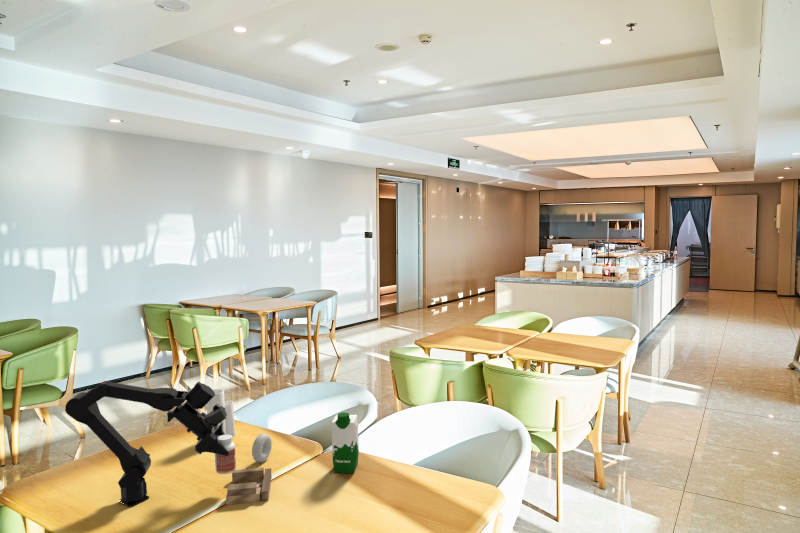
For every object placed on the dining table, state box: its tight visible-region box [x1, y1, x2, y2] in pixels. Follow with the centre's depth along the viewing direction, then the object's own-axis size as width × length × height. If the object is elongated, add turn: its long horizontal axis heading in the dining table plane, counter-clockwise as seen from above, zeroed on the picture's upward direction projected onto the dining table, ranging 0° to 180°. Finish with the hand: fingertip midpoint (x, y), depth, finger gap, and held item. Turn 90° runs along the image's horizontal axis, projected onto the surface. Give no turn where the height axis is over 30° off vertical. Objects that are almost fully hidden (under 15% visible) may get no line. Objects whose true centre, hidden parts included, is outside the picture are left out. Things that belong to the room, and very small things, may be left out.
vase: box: [206, 388, 236, 438], centre depth 217 cm, size 11×7×20 cm, turn 160°
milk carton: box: [331, 412, 360, 474], centre depth 188 cm, size 9×9×20 cm
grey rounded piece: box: [251, 433, 273, 463], centre depth 196 cm, size 10×4×10 cm, turn 161°
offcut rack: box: [225, 467, 273, 505], centre depth 175 cm, size 12×16×4 cm
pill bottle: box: [214, 435, 237, 475], centre depth 174 cm, size 6×6×11 cm
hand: (229, 450), depth 174 cm, fingers closed on pill bottle, 6 cm apart
